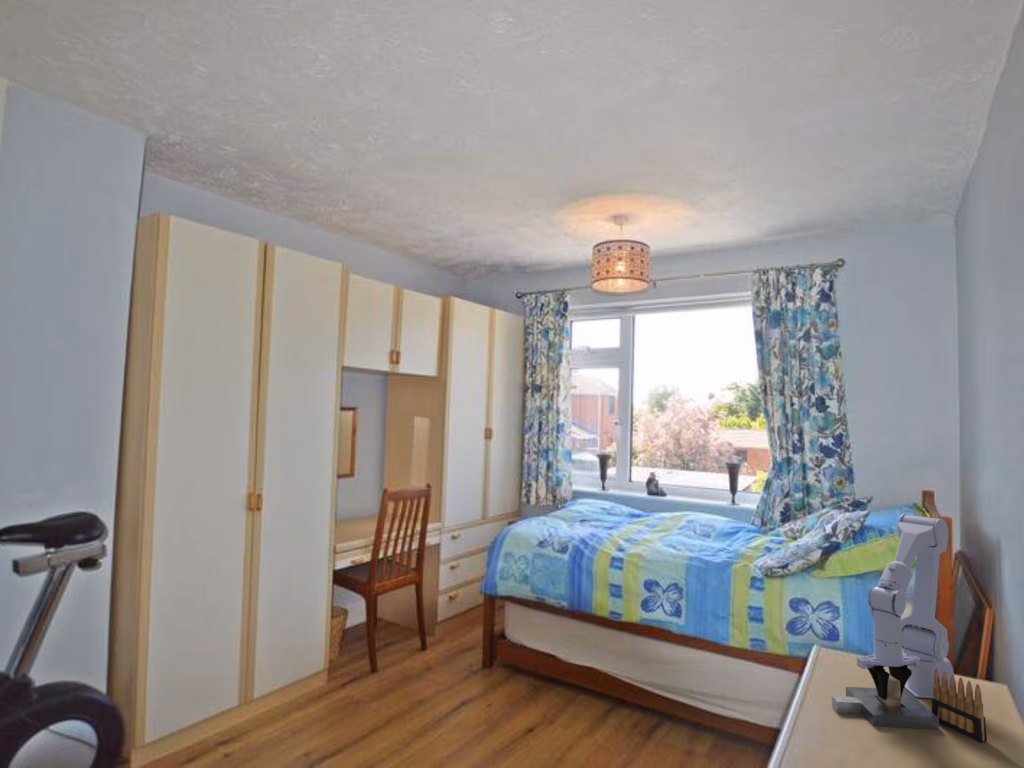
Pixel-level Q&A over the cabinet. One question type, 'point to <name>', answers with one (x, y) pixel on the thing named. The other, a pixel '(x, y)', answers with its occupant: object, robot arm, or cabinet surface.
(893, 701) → the oak wedge
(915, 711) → the steel bracket head
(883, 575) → the robot arm
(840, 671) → the cabinet surface
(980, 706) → the ammunition clip
